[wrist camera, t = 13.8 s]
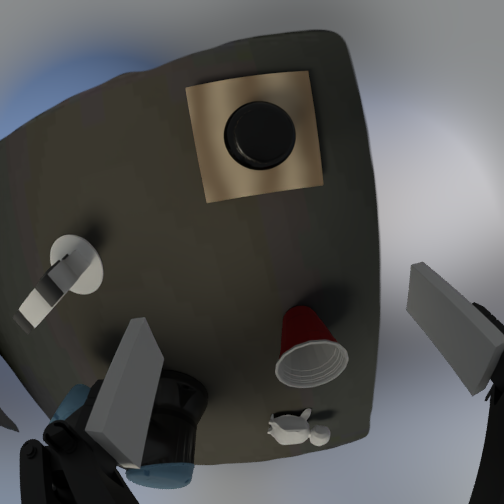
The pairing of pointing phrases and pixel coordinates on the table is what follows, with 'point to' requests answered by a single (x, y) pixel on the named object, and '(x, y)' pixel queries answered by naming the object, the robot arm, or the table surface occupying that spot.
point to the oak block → (214, 120)
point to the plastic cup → (308, 350)
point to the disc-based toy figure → (62, 279)
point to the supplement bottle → (259, 135)
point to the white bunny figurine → (297, 430)
